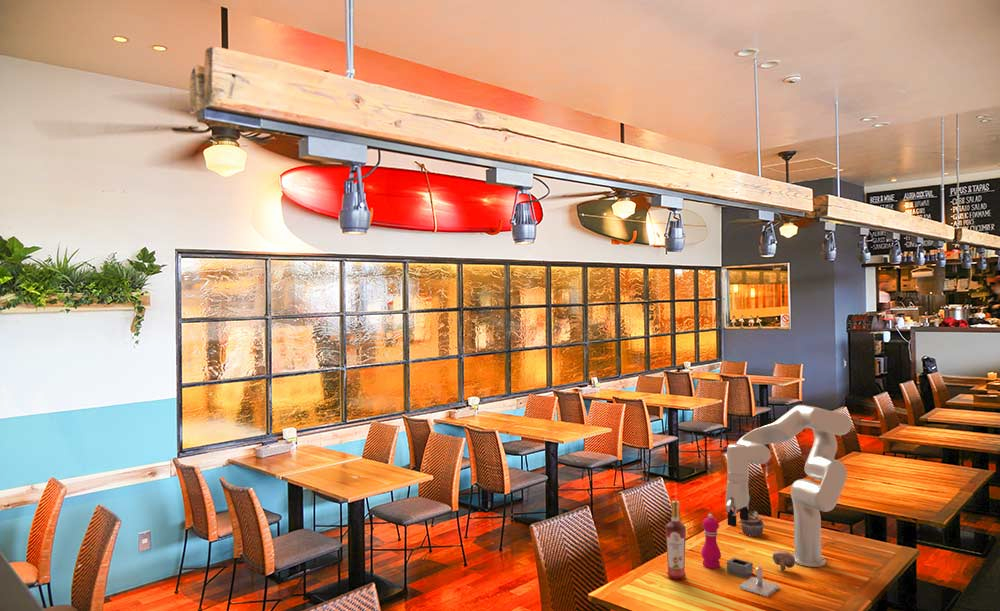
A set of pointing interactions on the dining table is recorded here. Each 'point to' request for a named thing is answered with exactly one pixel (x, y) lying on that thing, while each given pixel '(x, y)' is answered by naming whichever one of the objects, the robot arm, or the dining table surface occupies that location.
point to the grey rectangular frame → (739, 567)
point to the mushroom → (784, 559)
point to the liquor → (675, 545)
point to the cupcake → (752, 524)
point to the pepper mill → (711, 543)
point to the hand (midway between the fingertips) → (738, 522)
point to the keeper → (759, 584)
